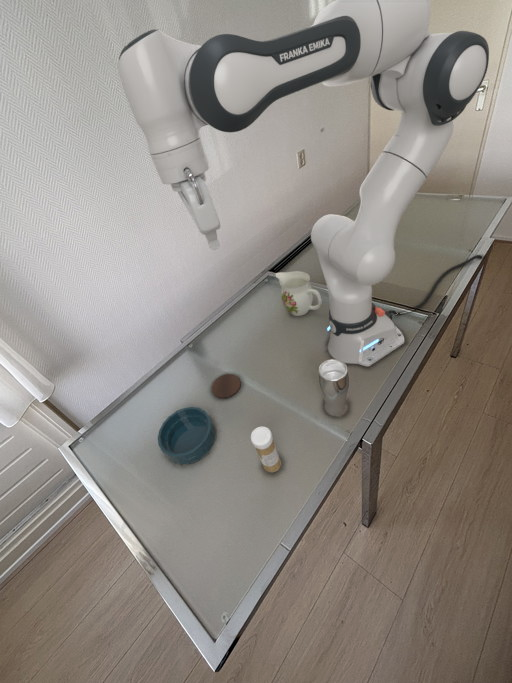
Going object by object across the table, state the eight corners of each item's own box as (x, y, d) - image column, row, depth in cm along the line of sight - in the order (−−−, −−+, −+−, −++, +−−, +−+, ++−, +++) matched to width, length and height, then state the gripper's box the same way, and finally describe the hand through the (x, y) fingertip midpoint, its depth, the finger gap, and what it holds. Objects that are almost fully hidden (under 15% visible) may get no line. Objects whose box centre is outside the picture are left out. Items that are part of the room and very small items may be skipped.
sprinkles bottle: (262, 457, 78) (249, 428, 69) (280, 453, 78) (269, 423, 69) (264, 475, 75) (251, 447, 66) (283, 471, 75) (272, 442, 66)
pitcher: (314, 327, 108) (310, 294, 99) (273, 312, 119) (266, 281, 110) (331, 308, 113) (328, 275, 104) (290, 296, 124) (285, 265, 115)
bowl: (209, 409, 93) (204, 399, 89) (222, 451, 82) (216, 441, 79) (162, 429, 91) (155, 419, 88) (169, 474, 80) (160, 465, 77)
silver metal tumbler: (350, 419, 81) (348, 381, 71) (322, 417, 83) (316, 381, 73) (349, 396, 85) (348, 358, 75) (323, 395, 87) (318, 358, 77)
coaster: (236, 371, 101) (235, 369, 101) (244, 391, 95) (244, 389, 94) (209, 382, 101) (209, 381, 100) (216, 403, 94) (215, 401, 93)
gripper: (212, 167, 47) (238, 252, 56) (190, 151, 62) (214, 219, 71) (171, 182, 46) (205, 265, 55) (160, 162, 62) (187, 229, 71)
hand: (210, 239), depth 63 cm, fingers open, 8 cm apart
